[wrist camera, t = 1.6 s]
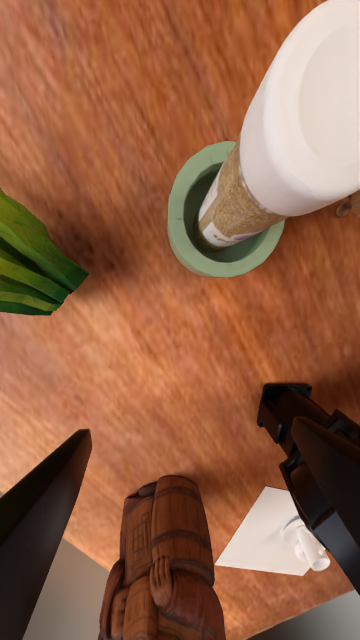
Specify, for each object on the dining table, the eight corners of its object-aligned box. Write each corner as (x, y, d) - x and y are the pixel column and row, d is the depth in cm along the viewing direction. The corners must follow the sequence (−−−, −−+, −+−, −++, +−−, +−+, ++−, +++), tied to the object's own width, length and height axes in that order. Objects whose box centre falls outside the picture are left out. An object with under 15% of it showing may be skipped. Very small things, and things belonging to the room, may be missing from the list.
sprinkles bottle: (204, 261, 18) (300, 227, 5) (183, 218, 17) (239, 44, 4) (243, 238, 18) (441, 144, 5) (224, 193, 17) (417, -76, 4)
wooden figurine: (187, 464, 25) (233, 870, 8) (204, 491, 27) (273, 878, 10) (115, 496, 26) (12, 949, 9) (136, 521, 28) (86, 943, 10)
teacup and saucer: (305, 548, 33) (325, 585, 29) (270, 542, 32) (285, 581, 28) (331, 516, 31) (355, 551, 27) (294, 509, 30) (314, 544, 26)
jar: (265, 181, 17) (298, 150, 13) (249, 279, 20) (274, 280, 15) (169, 170, 16) (171, 132, 12) (165, 273, 19) (165, 273, 14)
